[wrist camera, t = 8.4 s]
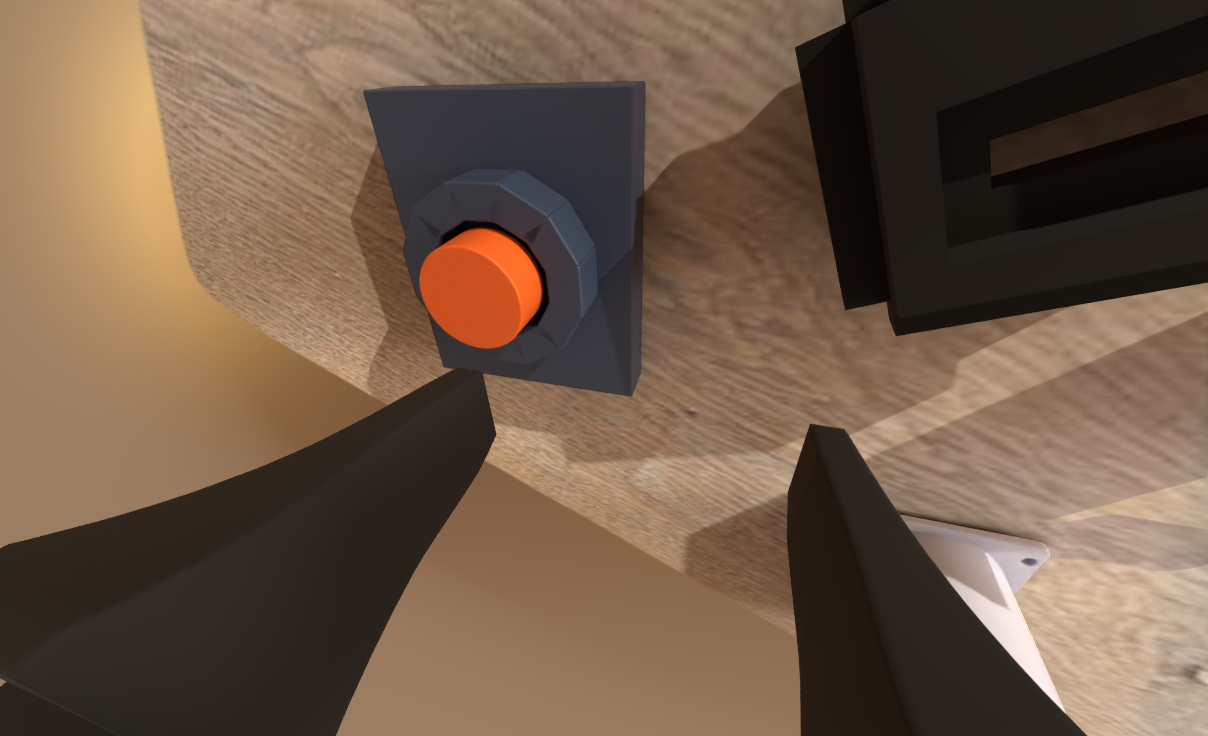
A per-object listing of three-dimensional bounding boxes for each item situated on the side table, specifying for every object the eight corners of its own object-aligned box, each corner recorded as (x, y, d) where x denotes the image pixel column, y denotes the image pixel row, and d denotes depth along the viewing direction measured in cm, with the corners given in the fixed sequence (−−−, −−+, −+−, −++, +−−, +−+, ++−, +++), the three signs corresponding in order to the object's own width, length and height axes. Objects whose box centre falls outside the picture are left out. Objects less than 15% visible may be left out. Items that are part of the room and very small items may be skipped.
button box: (641, 373, 20) (621, 426, 17) (462, 348, 22) (420, 390, 20) (645, 81, 14) (615, 90, 11) (395, 86, 16) (319, 95, 13)
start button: (549, 329, 16) (529, 356, 15) (460, 318, 17) (434, 342, 16) (537, 229, 14) (512, 250, 13) (437, 223, 15) (404, 241, 14)
